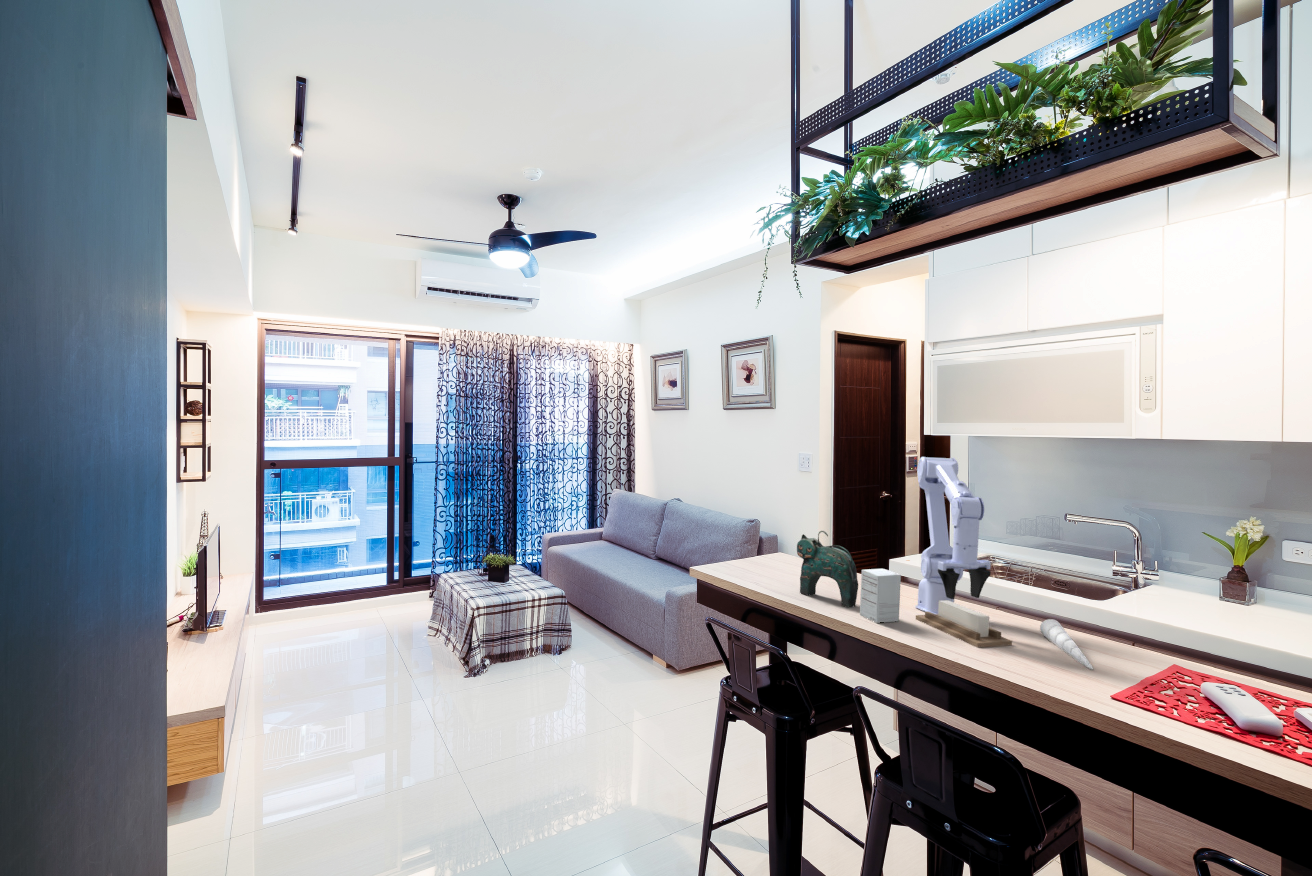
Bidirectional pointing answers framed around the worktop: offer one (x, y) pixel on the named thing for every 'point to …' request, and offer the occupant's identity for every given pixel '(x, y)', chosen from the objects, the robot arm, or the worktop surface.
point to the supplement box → (880, 595)
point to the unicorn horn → (1063, 640)
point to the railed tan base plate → (964, 631)
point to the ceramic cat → (827, 568)
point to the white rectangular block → (964, 617)
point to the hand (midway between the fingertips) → (962, 597)
